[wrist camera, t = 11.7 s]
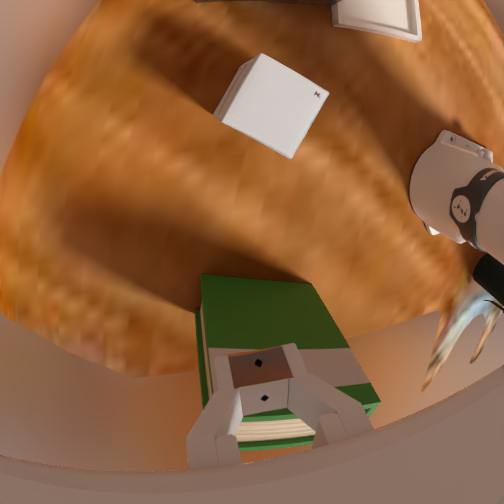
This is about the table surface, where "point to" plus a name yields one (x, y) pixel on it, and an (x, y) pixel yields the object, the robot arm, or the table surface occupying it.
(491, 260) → the wine bottle
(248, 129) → the supplement box
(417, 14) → the tray
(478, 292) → the table surface
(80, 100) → the table surface
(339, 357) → the hardback book
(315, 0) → the slot block
